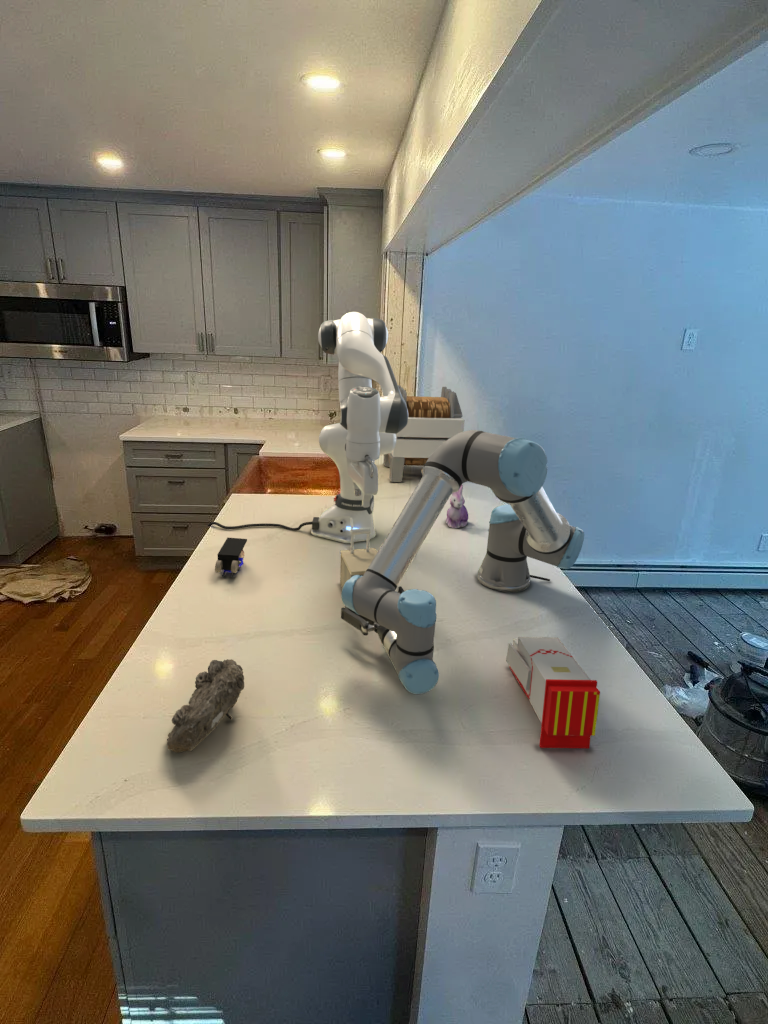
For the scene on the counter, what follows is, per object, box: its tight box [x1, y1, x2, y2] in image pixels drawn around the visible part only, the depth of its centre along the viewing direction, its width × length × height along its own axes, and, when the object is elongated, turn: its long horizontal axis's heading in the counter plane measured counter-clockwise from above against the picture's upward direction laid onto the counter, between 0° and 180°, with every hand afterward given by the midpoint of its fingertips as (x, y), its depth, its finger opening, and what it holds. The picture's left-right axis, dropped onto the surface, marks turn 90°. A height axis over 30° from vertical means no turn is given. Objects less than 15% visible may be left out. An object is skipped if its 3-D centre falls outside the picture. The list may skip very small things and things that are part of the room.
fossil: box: [166, 658, 245, 754], centre depth 106 cm, size 22×10×15 cm
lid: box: [340, 528, 378, 575], centre depth 153 cm, size 14×10×8 cm
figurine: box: [445, 484, 469, 529], centre depth 209 cm, size 9×10×15 cm
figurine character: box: [214, 537, 248, 578], centre depth 166 cm, size 7×8×15 cm
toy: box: [505, 636, 601, 749], centre depth 115 cm, size 12×13×30 cm
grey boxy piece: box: [383, 384, 465, 483], centre depth 268 cm, size 34×33×41 cm
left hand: (361, 500), depth 153 cm, fingers open, 8 cm apart
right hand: (373, 593), depth 143 cm, fingers open, 13 cm apart
